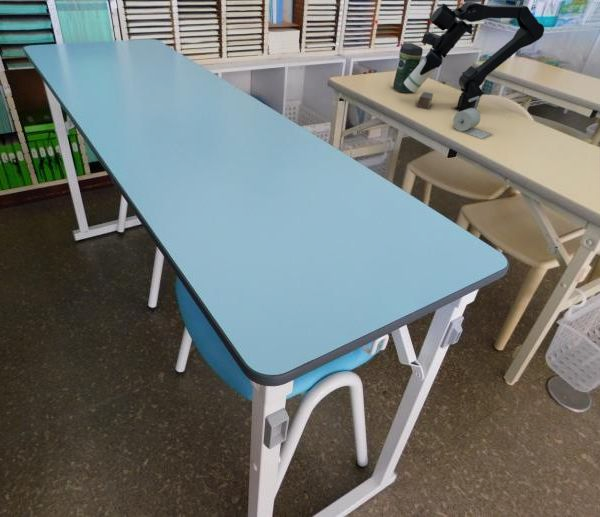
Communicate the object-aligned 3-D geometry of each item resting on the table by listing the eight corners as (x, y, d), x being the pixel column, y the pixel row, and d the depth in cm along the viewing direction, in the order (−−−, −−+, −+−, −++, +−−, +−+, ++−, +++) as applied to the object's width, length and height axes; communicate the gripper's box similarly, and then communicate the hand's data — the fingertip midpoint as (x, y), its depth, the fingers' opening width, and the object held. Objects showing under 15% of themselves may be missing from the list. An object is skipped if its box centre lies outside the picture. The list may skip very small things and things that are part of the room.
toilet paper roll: (493, 133, 159) (463, 122, 165) (504, 102, 152) (472, 93, 159) (479, 139, 152) (448, 128, 159) (490, 107, 146) (457, 97, 152)
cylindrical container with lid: (433, 85, 179) (434, 54, 171) (436, 91, 174) (436, 60, 166) (403, 90, 181) (402, 60, 173) (404, 96, 176) (403, 65, 168)
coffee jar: (416, 93, 192) (427, 46, 181) (400, 93, 190) (410, 46, 179) (405, 86, 200) (414, 41, 189) (389, 87, 197) (398, 41, 186)
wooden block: (430, 103, 182) (433, 93, 179) (427, 109, 175) (430, 98, 173) (421, 101, 183) (423, 91, 180) (417, 107, 176) (419, 96, 174)
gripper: (438, 17, 168) (410, 52, 179) (430, 27, 155) (401, 64, 165) (460, 37, 169) (431, 70, 180) (455, 48, 156) (424, 84, 166)
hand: (421, 72), depth 173 cm, fingers closed on cylindrical container with lid, 6 cm apart
